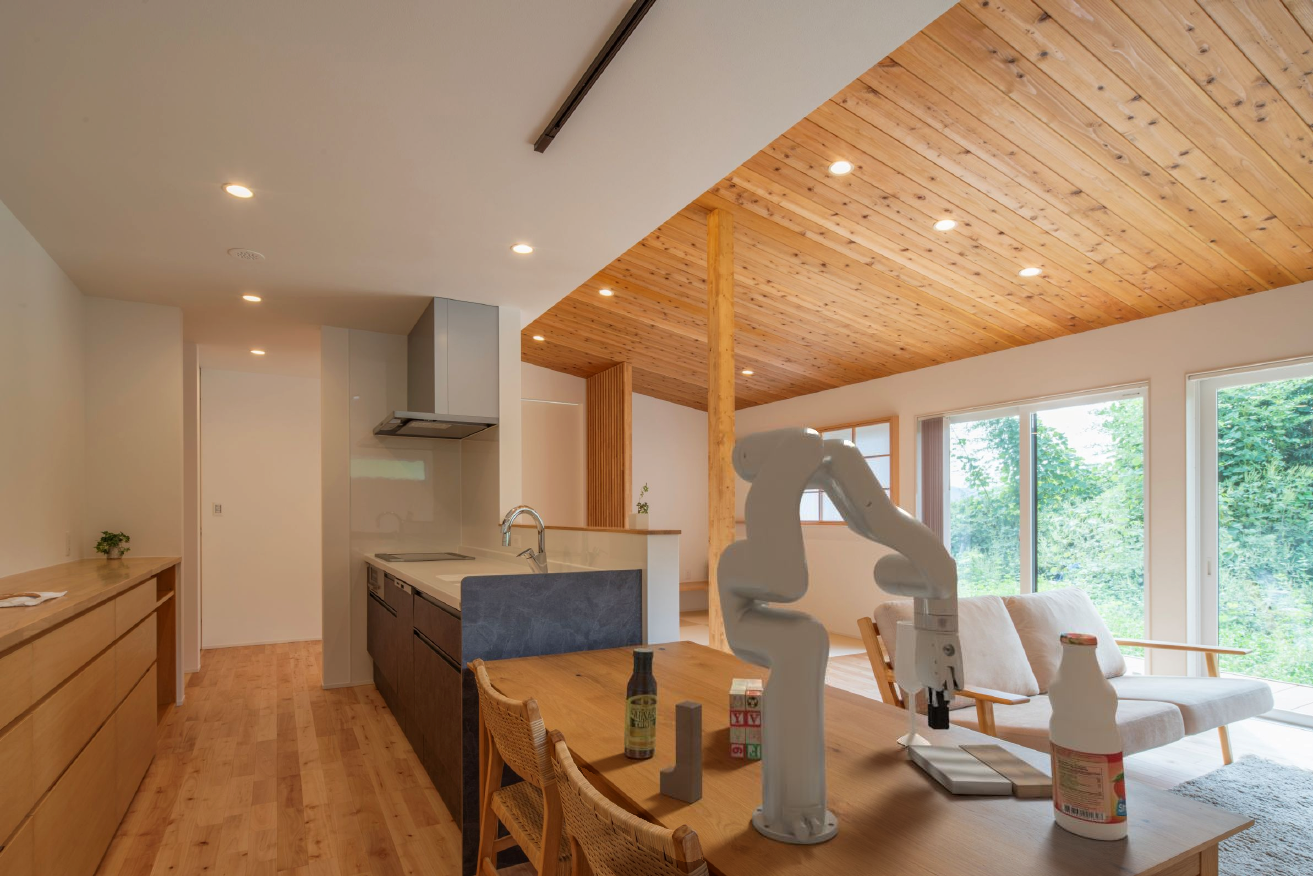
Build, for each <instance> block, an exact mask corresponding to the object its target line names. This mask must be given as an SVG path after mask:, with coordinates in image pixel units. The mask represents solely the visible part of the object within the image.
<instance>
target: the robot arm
mask: <svg viewBox="0 0 1313 876" xmlns="http://www.w3.org/2000/svg"><path fill="white" fill-rule="evenodd" d="M731 464H732V467H733V469H734V472H736V474H737V475H738V477H739V478H740V479H742V480H743V481H745V482H747V483H750V484H751V485H750V488H749V489H748V492H747V495H746V498H745V503H744V525H745V536H746V539H745V538H744V539H739V540H735V541H732V542H731V543H730V544H728V545H727V546H726V547H724V549H723V551H722V553H721V554H720V555H719V559H718V563H717V567H716V582H717V590H718V591H717V592H718V597H719V603H720V607H721V608H720V609H721V614H722V615H721V616H722V621H723V622H722V623H723V627H724V633H725V638H726V641H727V644H728V646H729V649H730V651H731V652H732V654H733V655H734V656H735V657H736V658H737V659H739V660H741V661H742V662H744V663H747V664H751V665H753V666H758V667H761V668H764V669H768V670H770V675H769V677H768V680H767V681H766V683H765V686H764V688H763V693H762V698H761V748H762V760H761V800H762V802H761V804H760V805H759V806H757V807H756V808H755V809H753V812H752V813H751V815H752V817H751V821H752V822H751V823H752V826H753V827H754V829H756V831H757V832H759V833H760V834H762V835H763V836H764V837H767V838H770V839H772V840H774V841H778V842H783V843H789V844H795V845H797V844H798V845H807V844H808V845H809V844H810V845H811V844H817V843H818V844H819V843H821V842H826V841H828V840H830V839H832V838H833V837H835V836H836V835H837V833H838V831H839V830H838V829H839V825H838V819H837V816H835V815H834V813H832V812H831V811H830V810H828V809H827V804H828V802H827V773H826V771H827V770H826V769H827V768H826V767H827V766H826V763H827V762H826V729H825V726H826V725H825V724H826V723H825V722H826V721H825V684H826V675H827V667H828V662H829V657H830V643H831V642H830V638H829V637H830V636H829V633H828V631H827V629H826V627H825V626H824V624H823V623H822V622H821V621H820V620H819V618H818V619H817V618H816V617H815V616H813V615H812V614H810V613H806V612H804V611H799V610H796V609H789V608H784V607H777V606H776V607H775V606H770V604H769V603H776V604H790V603H795V602H798V601H799V600H801V599H803V597H804V596H805V595H806V593H807V592H808V590H809V589H808V588H809V581H810V580H809V579H810V578H809V566H808V561H807V560H808V559H807V554H806V548H805V542H804V536H803V530H802V523H801V513H800V512H801V502H802V499H803V496H804V493H805V491H807V490H808V491H809V490H823V492H824V493H825V494H826V495H827V497H828V499H829V500H830V501H831V503H832V505H833V506H834V507H835V509H836V511H837V512H838V513H839V515H840V517H841V519H842V520H843V521H844V523H845V524H846V526H847V528H848V529H850V531H852V532H853V533H855V534H856V535H858V536H861V537H863V538H865V539H866V540H869V541H871V542H874V543H877V544H880V545H881V546H884V547H886V548H887V547H888V548H889V549H891V550H894V551H895V552H896V553H895V552H894V553H888V554H885V555H883V556H881V557H880V558H879V559H878V560H877V562H876V563H875V565H874V568H873V573H872V574H873V579H874V582H875V584H876V585H877V587H878V588H879V589H880V590H881V591H882V592H884V593H887V594H890V595H893V596H897V597H898V596H899V597H900V596H901V597H908V598H913V622H914V630H915V631H917V633H916V649H915V668H916V677H917V679H918V680H919V681H920V682H921V683H922V687H923V688H922V689H924V691H925V698H926V703H927V725H928V727H929V728H931V729H932V730H936V731H937V730H941V731H942V730H947V731H948V730H949V729H950V707H951V701H956V693H955V691H957V692H960V693H962V692H963V691H965V690H964V689H965V676H964V675H965V674H964V663H963V655H962V654H963V652H962V646H961V640H960V636H959V630H960V629H959V602H958V596H959V595H958V583H959V582H958V572H957V571H958V568H957V563H956V560H955V558H953V556H951V555H950V553H949V552H948V550H947V548H946V546H945V545H944V543H943V541H942V540H941V539H940V538H939V536H938V535H937V534H936V533H935V531H933V530H932V529H931V528H929V526H927V525H926V524H924V523H923V522H922V521H920V520H919V519H917V518H916V517H914V516H913V515H912V514H911V513H909V512H907V511H905V510H904V509H903V508H901V507H899V506H897V505H896V504H895V503H893V501H891V498H890V497H889V496H888V495H887V493H886V491H885V489H884V488H883V486H882V484H881V482H880V481H879V480H878V478H877V476H876V475H875V473H874V471H873V470H872V468H871V467H870V465H869V464H868V462H867V459H866V458H865V457H864V456H863V454H862V452H861V451H860V449H859V448H858V447H857V446H856V445H855V443H853V442H851V441H850V440H847V439H843V438H829V439H828V438H827V439H823V437H822V436H821V435H820V433H819V432H818V431H816V430H815V429H812V428H810V427H805V426H792V427H791V426H789V427H783V428H782V427H781V428H777V429H772V430H766V431H757V432H753V433H748V434H746V435H744V436H742V437H741V438H740V439H738V440H737V441H736V442H735V444H734V445H733V449H732V450H731Z"/></svg>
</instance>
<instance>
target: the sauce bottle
mask: <svg viewBox="0 0 1313 876" xmlns="http://www.w3.org/2000/svg"><path fill="white" fill-rule="evenodd" d="M632 657H633V668H632V674H631V676H630V677H629V681H628V682H627V683H626V686H627V687H626V698H625V708H624V709H625V711H624V734H623V737H624V738H623V745H624V748H623V749H624V755H625V756H626V757H628V758H631V759H636V760H637V759H640V760H641V759H642V760H643V759H649V758H652V757H653V756H654V755H655V752H656V751H655V750H656V749H655V748H656V746H657V725H658V723H657V722H658V721H657V720H658V719H657V718H658V717H657V716H658V683H657V680H656V678H655V676H654V674H653V672H654V671H653V658H654V650H653V649H651V648H644V647H643V648H642V647H640V648H634V649H633V651H632Z"/></svg>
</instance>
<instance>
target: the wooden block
mask: <svg viewBox="0 0 1313 876" xmlns="http://www.w3.org/2000/svg"><path fill="white" fill-rule="evenodd" d="M702 706H703V705H702V703H699V702H695V701H690V700H685V701H683V702H678V703H677V704H676V703H675V765H674V766H673V765H670V766H668V767H666V768H663V769H662V770H660V771H659V794H660V795H663V796H666V797H670V798H672V799H676V800H680V801H683V802H686V803H689V804H693V803H695V802H697V801H699V800H700V799H702V798H703V720H702V719H703V718H702V717H703V715H702V713H703V707H702Z"/></svg>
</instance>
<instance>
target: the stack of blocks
mask: <svg viewBox="0 0 1313 876" xmlns="http://www.w3.org/2000/svg"><path fill="white" fill-rule="evenodd" d="M731 683H732V685H731V687H730V689H729V702H728V703H729V758H730V759H738V758H742V759H741V760H756V759H759V760H760V761H762V748H761V698H762V693H763V690H764V688H763V683H762V679H761V678H760V679H758V678H757V679H756V678H732V682H731Z"/></svg>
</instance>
